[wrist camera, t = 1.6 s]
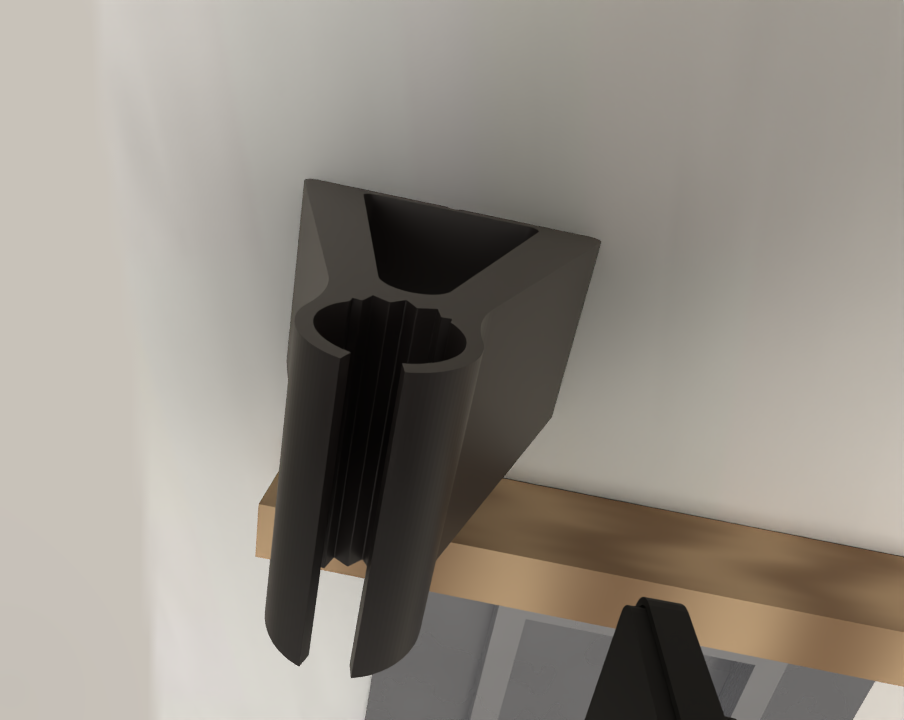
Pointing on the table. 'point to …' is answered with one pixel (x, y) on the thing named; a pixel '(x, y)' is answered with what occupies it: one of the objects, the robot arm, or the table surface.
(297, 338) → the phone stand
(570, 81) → the table surface
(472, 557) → the door edge rail
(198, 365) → the table surface
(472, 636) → the keeper plate
